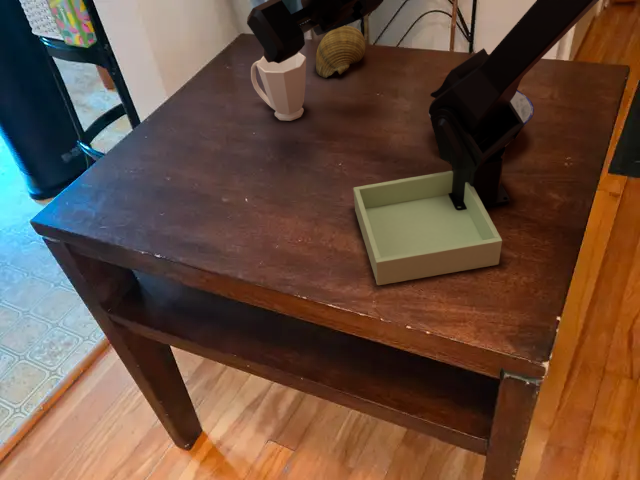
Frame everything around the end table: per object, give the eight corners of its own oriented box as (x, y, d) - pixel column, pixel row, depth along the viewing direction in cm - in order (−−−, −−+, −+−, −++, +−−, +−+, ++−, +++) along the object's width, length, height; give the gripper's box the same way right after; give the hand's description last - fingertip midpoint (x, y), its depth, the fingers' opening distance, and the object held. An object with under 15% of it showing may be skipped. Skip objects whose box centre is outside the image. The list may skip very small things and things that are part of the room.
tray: (498, 264, 64) (502, 240, 61) (377, 285, 64) (376, 262, 61) (461, 191, 73) (463, 168, 70) (355, 210, 73) (353, 187, 70)
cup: (292, 130, 86) (283, 77, 80) (242, 113, 91) (231, 61, 85) (322, 108, 90) (316, 55, 84) (272, 92, 94) (263, 41, 88)
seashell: (340, 100, 99) (368, 68, 92) (304, 78, 96) (330, 42, 90) (348, 62, 103) (375, 29, 97) (313, 40, 101) (339, 4, 95)
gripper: (362, -120, 69) (305, -32, 83) (241, -71, 61) (201, 18, 75) (415, -34, 71) (351, 38, 84) (304, 25, 63) (254, 94, 76)
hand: (291, 45), depth 80 cm, fingers open, 9 cm apart
